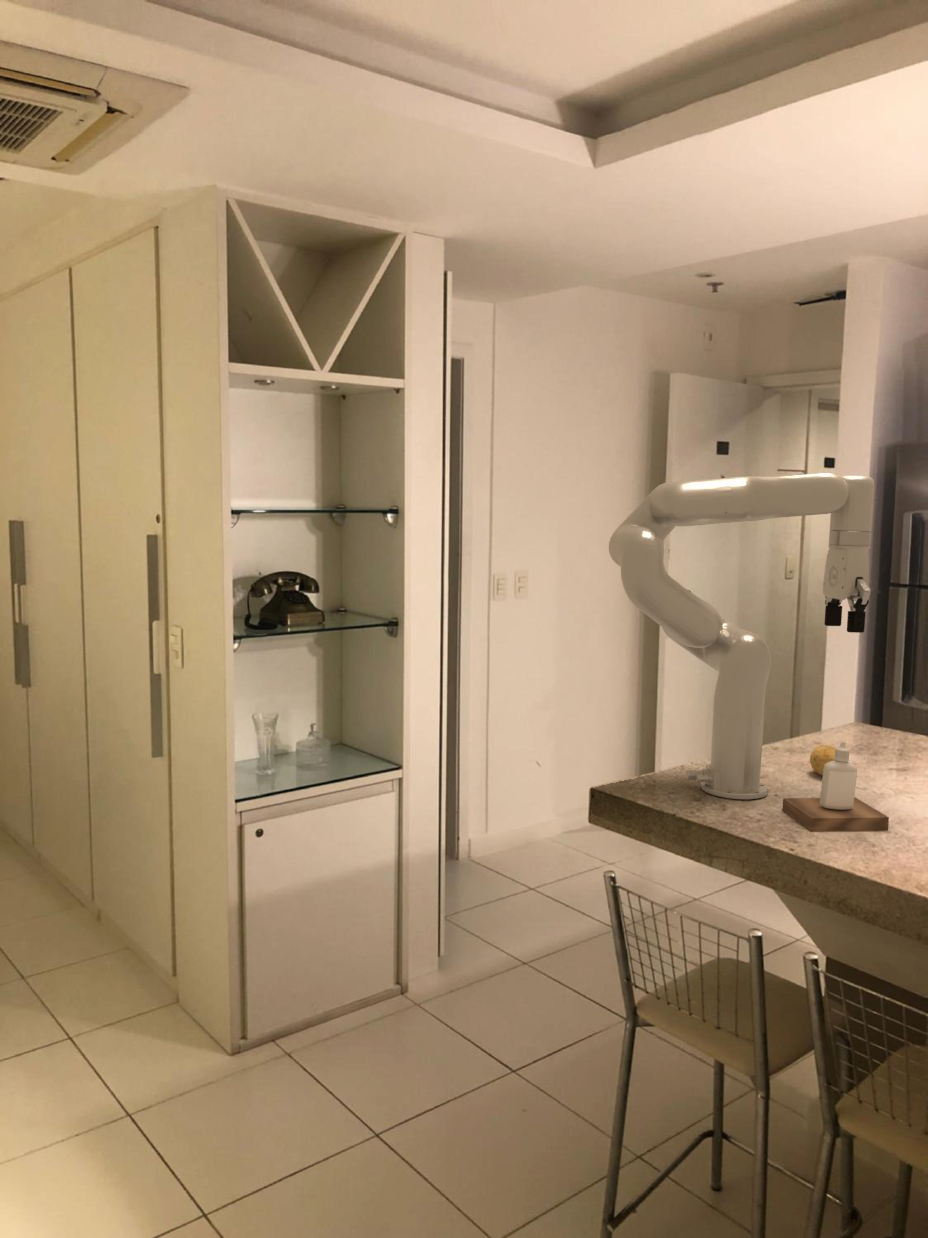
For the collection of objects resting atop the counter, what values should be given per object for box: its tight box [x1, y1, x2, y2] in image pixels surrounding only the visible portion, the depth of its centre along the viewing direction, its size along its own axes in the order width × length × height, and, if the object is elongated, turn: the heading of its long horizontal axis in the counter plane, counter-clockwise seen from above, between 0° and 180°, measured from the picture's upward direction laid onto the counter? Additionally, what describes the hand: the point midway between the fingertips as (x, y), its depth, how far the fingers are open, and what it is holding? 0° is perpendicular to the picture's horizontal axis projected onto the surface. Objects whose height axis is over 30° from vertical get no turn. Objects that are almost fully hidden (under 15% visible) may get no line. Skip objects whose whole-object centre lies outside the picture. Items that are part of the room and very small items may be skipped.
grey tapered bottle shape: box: [819, 740, 858, 810], centre depth 182 cm, size 4×6×12 cm
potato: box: [809, 744, 836, 777], centre depth 214 cm, size 7×11×6 cm, turn 157°
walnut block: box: [781, 796, 890, 832], centre depth 183 cm, size 14×12×3 cm
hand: (843, 628), depth 198 cm, fingers open, 9 cm apart
